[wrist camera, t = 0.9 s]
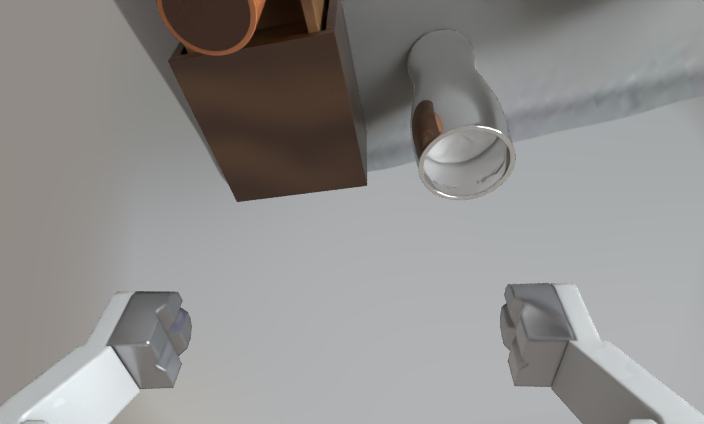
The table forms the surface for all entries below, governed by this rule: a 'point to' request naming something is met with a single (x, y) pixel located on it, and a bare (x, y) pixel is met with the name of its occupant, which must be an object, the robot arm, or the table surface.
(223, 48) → the orange mug
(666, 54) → the table surface
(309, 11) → the drawer
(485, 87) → the beer glass
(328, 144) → the cabinet
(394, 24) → the table surface
